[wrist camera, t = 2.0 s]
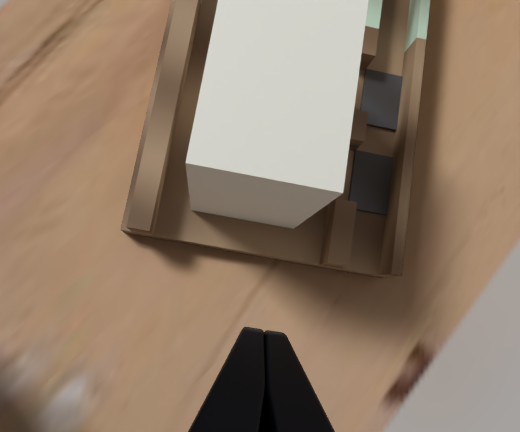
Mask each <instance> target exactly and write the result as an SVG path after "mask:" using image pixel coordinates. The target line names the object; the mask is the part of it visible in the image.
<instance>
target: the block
mask: <svg viewBox="0 0 520 432" xmlns="http://www.w3.org/2000/svg"><path fill="white" fill-rule="evenodd" d="M368 1H369V0H218V3H217V8H216V13H215V18H214V23H213V28H212V33H211V38H210V43H209V48H208V53H207V58H206V63H205V68H204V73H203V78H202V83H201V88H200V93H199V98H198V103H197V108H196V113H195V118H194V123H193V128H192V133H191V137H190V142H189V147H188V152H187V157H186V162H185V164H186V172H187V180H188V188H189V196H190V205H191V210H193V211H199V212H204V213H210V214H215V215H221V216H226V217H232V218H237V219H243V220H248V221H254V222H259V223H265V224H270V225H276V226H281V227H287V228H292V229H294V228H295V227H297V226H298V225H300V224H301V223H302V222H304V221H305V220H307V219H308V218H309V217H311V216H312V215H313V214H315V213H316V212H318V211H319V210H320V209H322V208H323V207H325V206H326V205H327V204H329V203H330V202H331V201H333V200H334V199H336V198H337V197H338V196H340V195H341V194H343V190H344V183H345V175H346V167H347V160H348V152H349V145H350V137H351V130H352V122H353V114H354V107H355V99H356V92H357V84H358V77H359V69H360V61H361V54H362V46H363V39H364V31H365V24H366V16H367V8H368Z"/></svg>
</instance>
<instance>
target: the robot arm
mask: <svg viewBox="0 0 520 432" xmlns="http://www.w3.org/2000/svg"><path fill="white" fill-rule="evenodd" d="M188 432H335V431H334V429H333V427H332V425H331V423H330V421H329V419H328V417H327V415H326V413H325V411H324V409H323V407H322V405H321V403H320V401H319V399H318V397H317V395H316V393H315V391H314V389H313V387H312V385H311V383H310V382H309V380H308V378H307V376H306V374H305V372H304V370H303V368H302V366H301V364H300V362H299V360H298V358H297V356H296V354H295V352H294V350H293V348H292V346H291V344H290V342H289V340H288V338H287V336H286V335H285V334H284V333H281V332H275V331H269V330H267V331H265V332H263V330H261V329H257V328H250V327H244V328H243V329H242V331H241V332H240V334H239V336H238V338H237V340H236V342H235V344H234V346H233V348H232V349H231V351H230V353H229V355H228V357H227V359H226V361H225V363H224V365H223V367H222V368H221V370H220V372H219V374H218V376H217V378H216V380H215V382H214V384H213V386H212V387H211V389H210V391H209V393H208V395H207V397H206V399H205V401H204V403H203V405H202V406H201V408H200V410H199V412H198V414H197V416H196V418H195V420H194V422H193V423H192V425H191V427H190V429H189V431H188Z"/></svg>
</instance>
